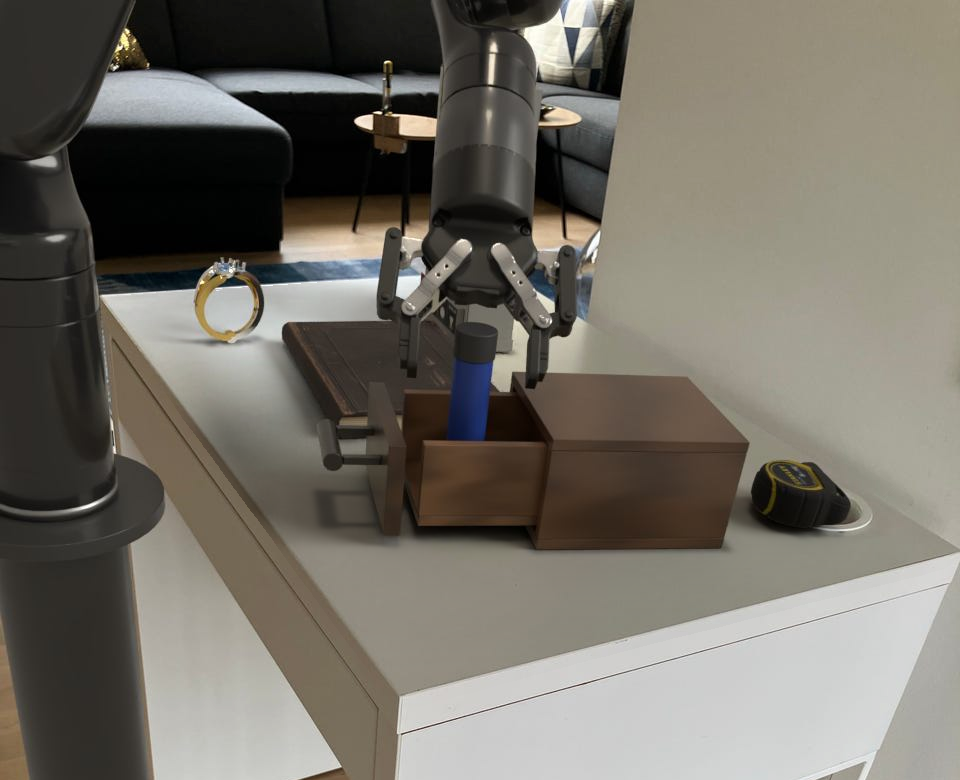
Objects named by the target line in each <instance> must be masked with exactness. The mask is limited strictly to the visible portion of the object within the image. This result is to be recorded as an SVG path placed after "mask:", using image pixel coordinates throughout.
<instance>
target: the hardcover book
mask: <svg viewBox="0 0 960 780" xmlns="http://www.w3.org/2000/svg"><path fill="white" fill-rule="evenodd" d="M399 335H400V328H399V326H398V324H397V323H395V322H394V321H391V320H343V321H342V320H339V321H338V320H337V321H336V320H335V321H334V320H333V321H332V320H331V321H329V320H327V321H287V322H285V323H284V324H283V325H282V327H281V340H282V342H283V344H284V345H285V347H286V349H287V350H288V352H289V353H290V355H291V357H292V358H293V360H294V362H295V364H296V365H297V368H298V369H299V370H300V372H301V374H302V375H303V377H304V379H305V380H306V382H307V384H308V385H309V387H310V389H311V391H312V393H313V394H314V396H315V397H316V399H317V401H318V403H319V405H320V407H321V408H322V410H323V412H324V413H325V414H326V416H327V419H330V420H332V421H333V422H334V423H335V426H336V425H361V426H367V417H368V396H369V382H385V385H386V388H387V391H388V394H389V397H390V400H391V403H392V406H393V409H394V412H395V414H396V417H397V420H398V423H399V426H400V429H401V423H402V408H403V393H404V389H410V390H450V391H451V384H452V373H453V363H454V355H453V347H454V342H453V341H452V340H451V339H450V338H449V337H448V336H447V334H446V333H445V332H444V331H443V330H442V329H441V328H440V327H439V326H438V325H437V324H436V323H435V322H434V321H433V320H427V319H426V320H425V319H424V320H423V321H422V322H421V323H420V332H419V347H418V362H417V375H416V378H408V377H407V369H400V367H399V364H398V349H399ZM490 392H501V391H500V390H499V389H498V388H497V387H496V386H495V385H494V383H493V382H491V387H490ZM338 437H340V438H341V439H344V440H346V439H347V440H348V439H366V437H367V436H346V435H338Z"/></svg>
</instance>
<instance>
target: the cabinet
mask: <svg viewBox="0 0 960 780" xmlns="http://www.w3.org/2000/svg"><path fill="white" fill-rule="evenodd" d="M525 376H526V371H511V379H510V387H509V392H518V394H519V396H520V398H521V399H522V401H523V403H524V404H525V406H526V408H527V409H528V411H529V413H530V414H531V416H532V418H533V420H534V421H535V423H536V425H537V426H538V428H539V430H540V431H541V433H542V435H543V436H544V438H545V440H546V442H547V443H548V445H549V448H548V455H547V461H546V468H545V474H544V481H543V487H542V494H541V501H540V507H539V514H538V520H537V525H524V527H525V529H526V531H527V533H528V535H529V538H530V539H531V541H532V543H533V546H534V548H535V549H536V550H623V549H625V550H629V549H631V550H632V549H633V550H634V549H635V550H637V549H643V550H644V549H647V550H648V549H721V548H723V545H724V541H725V536H726V533H727V529H728V526H729V522H730V518H731V514H732V509H733V506H734V503H735V499H736V495H737V492H738V489H739V484H740V480H741V477H742V473H743V469H744V466H745V462H746V458H747V453H748V451H749V448H750V444H751V442H750V441H749V439H748V438H746V437H745V436H744V434H743V433H742V432H741V431H740V430H739V429H738V428H737V427H736V426H735V425H734V424H733V423H732V422H731V421H730V420H729V419H728V418H727V417H726V415H724V413H722V411H720V409H719V408H718V407H717V406H716V405H715V404H714V403H713V402H712V401H711V399H709V398H708V396H706V395H705V394H704V393H703V392H702V390H700V388H699V387H698V386H697V385H696V384H695V383H694V382H693V381H692V380H691V379H690V378H689V377H688V376H682V375H681V376H677V375H647V374H646V375H645V374H609V373H581V372H580V373H577V372H575V373H574V372H546V375H545V377H544V379H543V381H542V382H537V385H536V388H535V389H526V388H525Z"/></svg>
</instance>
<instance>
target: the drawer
mask: <svg viewBox="0 0 960 780" xmlns="http://www.w3.org/2000/svg"><path fill="white" fill-rule="evenodd" d="M450 395H451V391H450V390H410V389H404V393H403V408H402V423H401V429H400V426H399V423H398V420H397V417H396V414H395V412H394V409H393V406H392V403H391V400H390V397H389V394H388V391H387V388H386V385H385V382H369V396H368V417H367V426H361V425H336V426H335V423H334V422H333V421H332V420H330V419H329V418H323V419H321V420H319V421H318V422H317V424H316V432H317V437H318V438H317V439H318V443H319V449H320V453H321V459H322V464H323V467H324V468H325V469H326V470H327V471H330V472H336V471H339V470H340V469H341V468H342V467H343V466H365V468H366V473H367V476H368V480H369V485H370V488H371V492H372V496H373V500H374V504H375V507H376V512H377V516H378V519H379V524H380V527H381V532H382V535H383V536H400V535H401V526H402V513H403V501H404V486H405V489H406V492H407V496H408V498H409V502H410V505H411V508H412V511H413V514H414V517H415V522H416V524H417V526H418V527H448V526H449V527H457V526H459V527H460V526H461V527H463V526H465V527H468V526H469V527H473V526H476V527H477V526H483V527H485V526H487V527H488V526H491V527H493V526H496V527H497V526H525V525H537V520H538V514H539V507H540V501H541V494H542V487H543V481H544V474H545V468H546V461H547V455H548V448H549V445H548V443H547V442H546V440H545V438H544V436H543V435H542V433H541V431H540V430H539V428H538V426H537V425H536V423H535V421H534V420H533V418H532V416H531V414H530V413H529V411H528V409H527V408H526V406H525V404H524V403H523V401H522V399H521V398H520V396H519V394H518V392H510V391H500V392H490V396H489V404H488V413H487V422H486V430H485V439H484V441H446V437H447V427H448V416H449V405H450ZM339 435H346V436H367V437H366V438H365V441H366V442H365V454H364V453H362V454H357V453H342V450H341V449H342V448H341V445H340V440H339Z"/></svg>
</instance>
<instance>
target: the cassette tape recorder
mask: <svg viewBox="0 0 960 780" xmlns="http://www.w3.org/2000/svg"><path fill="white" fill-rule="evenodd" d="M442 85H443V63H441V64H440V74H439V87H438V99H437V100H438V101H437V113H436V126H435V135H436V134H437V129H438V125H439V120H440V114H441V100H442ZM543 92H544V90H543V89H542V88H539V87H537V86H536V97H535V117H534V126H535V135H536V142H537V140H538V133H539V124H540V118H541V117H540V116H541V108H542V102H543V101H542V100H543V94H544V93H543ZM434 138H435V139H434V142H435V141H436V137H434ZM431 177H432V178H431V182H432V181H433V175H431ZM430 190H431V192H430V197H431V196H432V188H431V189H430ZM429 205H430V206H429V211H430V210H431V202H430V204H429ZM429 225H430V215H429V217H428V226H429ZM428 273H429V271H428V269H427V268H426V267H425V273H423V271H420V283H421V281H422V279H423V278H424V277H425V276H426V275H427V274H428ZM420 283H419V284H420ZM454 303H455V301H452V300H450V299H449V298H447V299H446V300H445V301H444V302H443V303H442V304H441V305H440V306H439V307H438V308H437V310H436V311H435V312H433V313H430V314H429V315H428V316H427V317H426V318H425V319H426V320H433V321H434V322H435V323H436V324H437V325H438V326H439V327H440V328H441V329H442V330H443V331H444V332H445V333H446V334H447V336H448V337H449V338H450V339H451V340H452V341H453V342H454V337H455V327H456V325H458V324H460V323H464V322H479V323H484V324H488V325H491V326H493V327H495V328H496V329H497V330H498V339H497V348H496V353H497V352H500V353H503V354H507V353H510V352H512V351H513V345H514V340H513V332H514V331H513V330H514V325H515V324H514V323H515V319H514V318H513V316H512V315H511V314H510V312H509V311H508V309H507V308H506V307H505V305H504V304H502V305H497V308H486V307H484V306H481V305H478V304H471V305H455V304H454Z"/></svg>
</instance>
